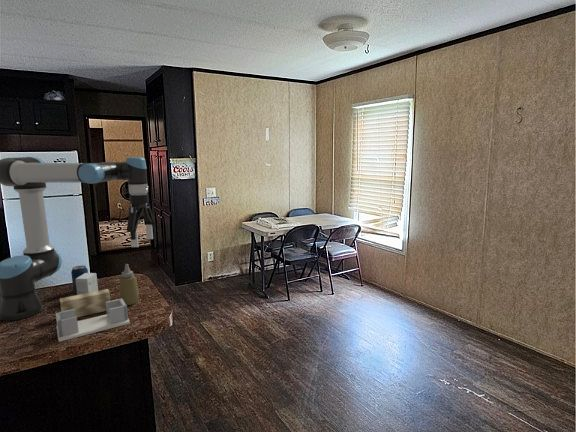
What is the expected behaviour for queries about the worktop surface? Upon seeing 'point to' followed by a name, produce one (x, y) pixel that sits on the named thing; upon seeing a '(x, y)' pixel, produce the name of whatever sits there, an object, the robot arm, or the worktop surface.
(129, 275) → the squeeze bottle
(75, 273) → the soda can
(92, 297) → the rail
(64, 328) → the bracket board
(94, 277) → the small box
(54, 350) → the worktop surface
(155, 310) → the worktop surface
